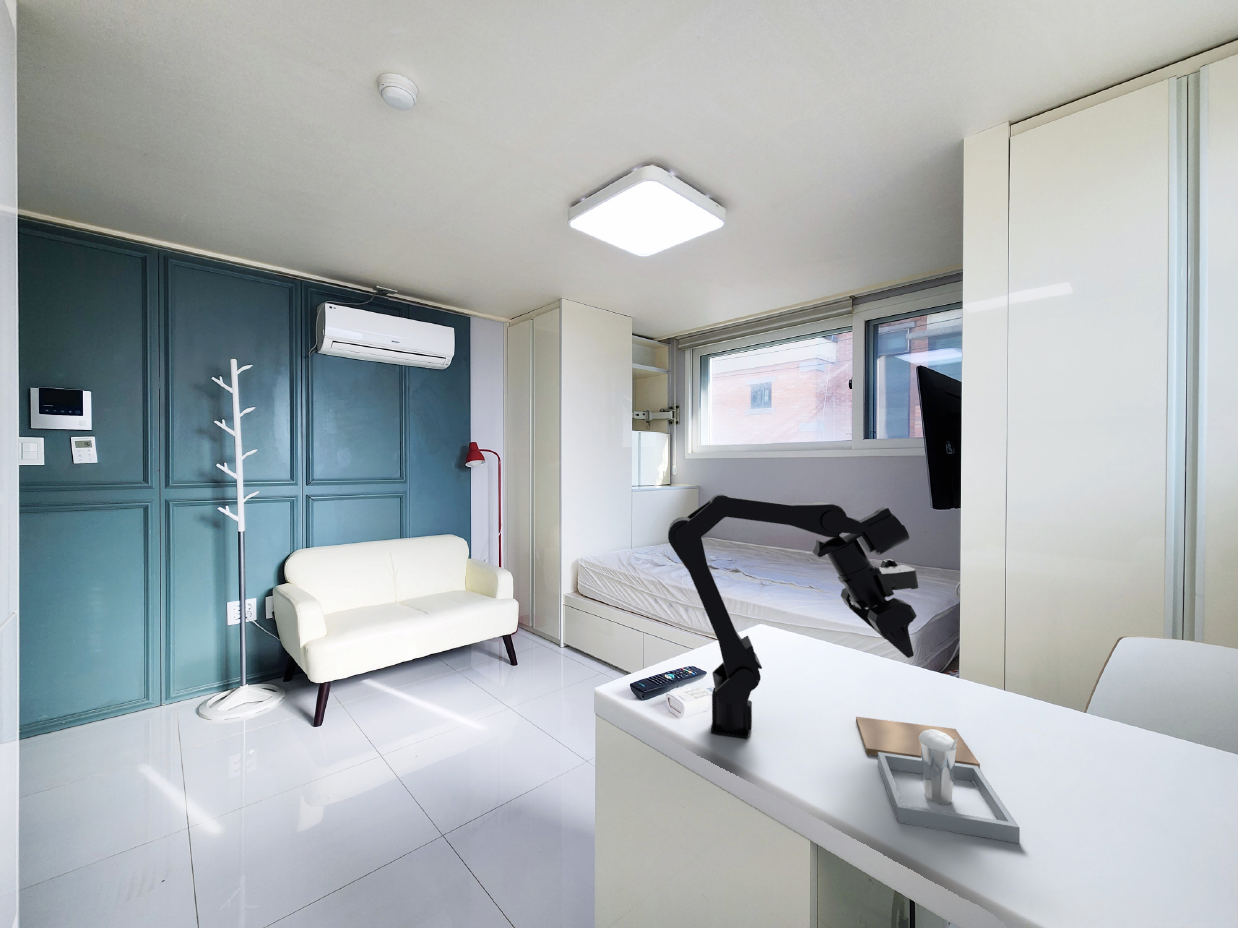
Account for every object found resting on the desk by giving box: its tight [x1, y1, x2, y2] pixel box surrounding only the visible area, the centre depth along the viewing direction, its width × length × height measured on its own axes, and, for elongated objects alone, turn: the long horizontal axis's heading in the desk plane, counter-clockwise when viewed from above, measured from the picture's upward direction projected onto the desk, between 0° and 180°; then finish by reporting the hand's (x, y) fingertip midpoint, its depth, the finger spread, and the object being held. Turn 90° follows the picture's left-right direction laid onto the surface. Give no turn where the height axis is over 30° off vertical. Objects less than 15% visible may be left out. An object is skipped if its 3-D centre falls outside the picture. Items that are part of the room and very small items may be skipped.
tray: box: [877, 752, 1020, 844], centre depth 72 cm, size 14×14×2 cm
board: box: [855, 716, 981, 770], centre depth 87 cm, size 16×11×1 cm
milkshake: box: [919, 729, 958, 806], centre depth 72 cm, size 4×5×10 cm
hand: (898, 646), depth 89 cm, fingers open, 9 cm apart
